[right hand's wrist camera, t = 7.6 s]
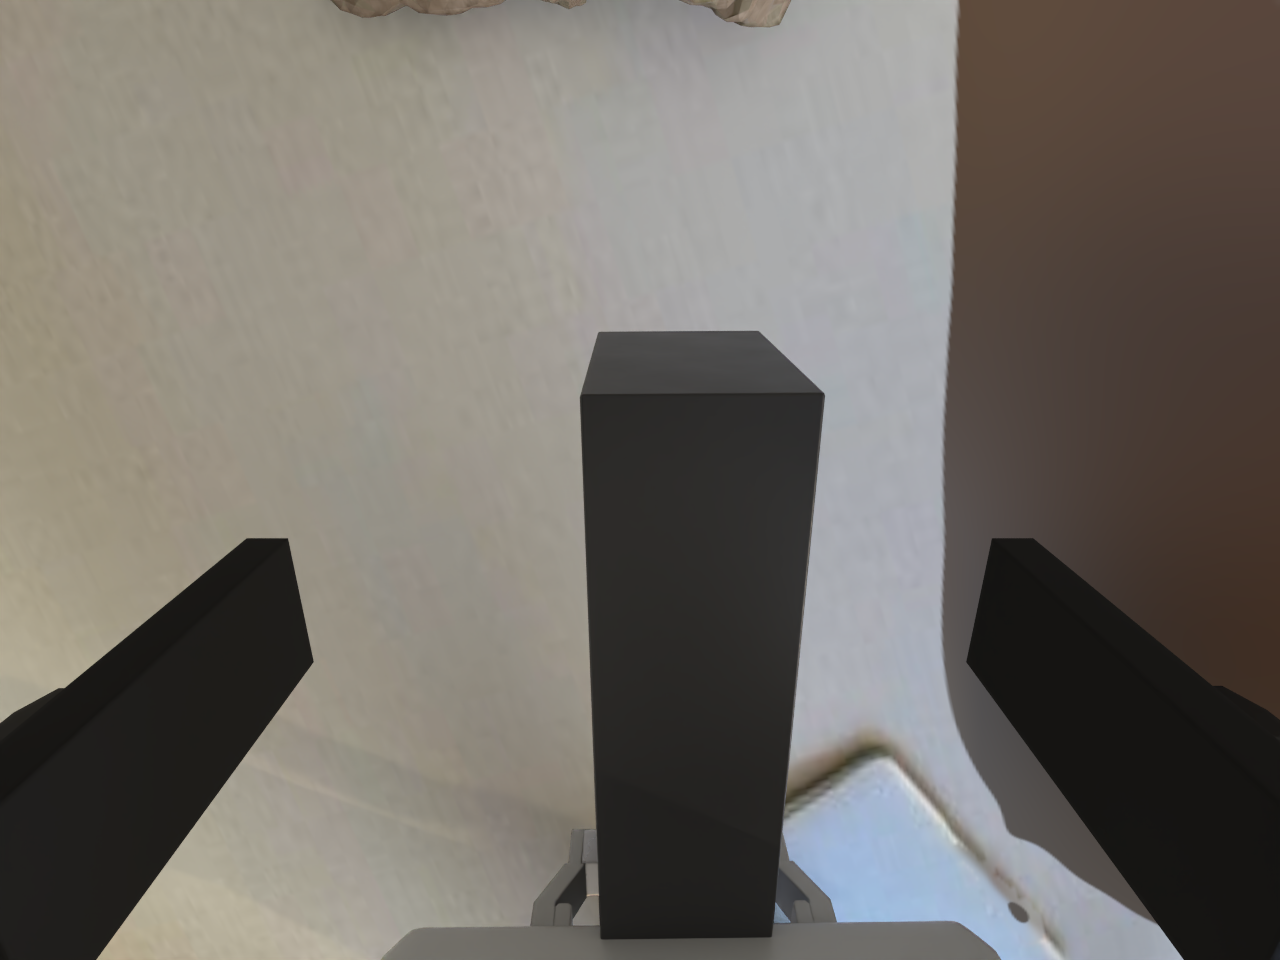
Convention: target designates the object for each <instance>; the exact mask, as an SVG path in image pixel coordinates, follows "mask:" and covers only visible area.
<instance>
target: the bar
mask: <svg viewBox="0 0 1280 960" xmlns="http://www.w3.org/2000/svg"><path fill="white" fill-rule="evenodd" d="M824 400H825V395H824V393H823V392H822V391H821V390H820V389H819V388H818V387H817V386H816V385H815V384H814V383H813V382H812V381H811V380H810V379H808V378H807V377H806V376H805V375H804V374H803V373H802V372H801V371H800V370H799V369H798V368H797V367H796V366H795V365H794V364H793V363H792V362H791V361H790V360H789V359H787V358H786V357H785V356H784V355H783V354H782V353H781V352H780V351H779V350H778V349H777V348H776V347H775V346H774V345H773V344H772V343H771V342H770V341H769V340H768V339H766V338H765V337H764V336H763V335H762V334H761V333H760V332H759V331H662V332H599V333H598V335H597V339H596V343H595V346H594V350H593V353H592V357H591V360H590V364H589V367H588V371H587V374H586V378H585V381H584V385H583V388H582V392H581V395H580V412H581V438H582V465H583V491H584V518H585V544H586V571H587V597H588V624H589V650H590V677H591V703H592V730H593V756H594V783H595V809H596V836H597V862H598V889H599V915H600V938H601V939H602V940H610V939H690V938H769V937H772V932H773V922H774V912H775V901H776V891H777V881H778V871H779V860H780V850H781V840H782V830H783V820H784V809H785V799H786V789H787V779H788V768H789V758H790V748H791V738H792V727H793V717H794V707H795V697H796V686H797V676H798V666H799V656H800V645H801V635H802V625H803V615H804V605H805V594H806V584H807V574H808V564H809V553H810V543H811V533H812V523H813V512H814V502H815V492H816V482H817V471H818V461H819V451H820V441H821V431H822V420H823V410H824Z"/></svg>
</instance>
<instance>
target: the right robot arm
mask: <svg viewBox="0 0 1280 960" xmlns="http://www.w3.org/2000/svg"><path fill="white" fill-rule="evenodd" d="M313 662H314V661H313V657H312V652H311V647H310V642H309V637H308V633H307V628H306V623H305V618H304V613H303V609H302V604H301V599H300V594H299V589H298V585H297V580H296V575H295V570H294V565H293V561H292V556H291V551H290V546H289V541H288V538H247V539H246V540H244V541H243V542H242V543H241V544H239V545H238V546H237V547H236V548H235V549H233V550H232V551H231V552H230V553H229V554H227V555H226V556H225V557H224V558H222V559H221V560H220V561H219V562H218V563H216V564H215V565H214V566H213V567H211V568H210V569H209V570H208V571H207V572H205V573H204V574H203V575H202V576H201V577H199V578H198V579H197V580H196V581H194V582H193V583H192V584H191V585H190V586H188V587H187V588H186V589H185V590H184V591H182V592H181V593H180V594H179V595H177V596H176V597H175V598H174V599H173V600H171V601H170V602H169V603H168V604H166V605H165V606H164V607H163V608H162V609H160V610H159V611H158V612H157V613H156V614H154V615H153V616H152V617H151V618H149V619H148V620H147V621H146V622H145V623H143V624H142V625H141V626H140V627H139V628H137V629H136V630H135V631H134V632H132V633H131V634H130V635H129V636H128V637H126V638H125V639H124V640H123V641H122V642H120V643H119V644H118V645H117V646H115V647H114V648H113V649H112V650H111V651H109V652H108V653H107V654H106V655H104V656H103V657H102V658H101V659H100V660H98V661H97V662H96V663H95V664H94V665H92V666H91V667H90V668H89V669H87V670H86V671H85V672H84V673H83V674H81V675H80V676H79V677H78V678H77V679H75V680H74V681H73V682H72V683H70V684H69V685H68V686H67V687H66V688H58V689H56V690H55V691H53V692H51V693H49V694H47V695H45V696H44V697H42V698H40V699H38V700H36V701H34V702H32V703H31V704H29V705H27V706H25V707H23V708H21V709H20V710H18V711H16V712H14V713H13V714H11V715H10V716H9V717H8V718H6V719H5V720H4V721H3V722H1V723H0V960H96V959H97V958H98V956H99V955H100V954H101V952H102V951H103V950H104V948H105V947H106V946H107V944H108V943H109V941H110V940H111V939H112V937H113V936H114V935H115V933H116V932H117V930H118V929H119V928H120V926H121V925H122V924H123V922H124V921H125V920H126V918H127V917H128V915H129V914H130V913H131V911H132V910H133V909H134V907H135V906H136V904H137V903H138V902H139V900H140V899H141V898H142V896H143V895H144V894H145V892H146V891H147V889H148V888H149V887H150V885H151V884H152V883H153V881H154V880H155V878H156V877H157V876H158V874H159V873H160V872H161V870H162V869H163V867H164V866H165V865H166V863H167V862H168V861H169V859H170V858H171V857H172V855H173V854H174V852H175V851H176V850H177V848H178V847H179V846H180V844H181V843H182V841H183V840H184V839H185V837H186V836H187V835H188V833H189V832H190V831H191V829H192V828H193V826H194V825H195V824H196V822H197V821H198V820H199V818H200V817H201V815H202V814H203V813H204V811H205V810H206V809H207V807H208V806H209V805H210V803H211V802H212V800H213V799H214V798H215V796H216V795H217V794H218V792H219V791H220V789H221V788H222V787H223V785H224V784H225V783H226V781H227V780H228V779H229V777H230V776H231V774H232V773H233V772H234V770H235V769H236V768H237V766H238V765H239V763H240V762H241V761H242V759H243V758H244V757H245V755H246V754H247V752H248V751H249V750H250V748H251V747H252V746H253V744H254V743H255V742H256V740H257V739H258V737H259V736H260V735H261V733H262V732H263V731H264V729H265V728H266V726H267V725H268V724H269V722H270V721H271V720H272V718H273V717H274V716H275V714H276V713H277V711H278V710H279V709H280V707H281V706H282V705H283V703H284V702H285V700H286V699H287V698H288V696H289V695H290V694H291V692H292V691H293V690H294V688H295V687H296V685H297V684H298V683H299V681H300V680H301V679H302V677H303V676H304V674H305V673H306V672H307V670H308V669H309V668H310V666H311V665H312V664H313ZM967 664H968V665H969V666H970V668H971V669H972V670H973V672H974V673H975V674H976V676H977V677H978V679H979V680H980V681H981V683H982V684H983V685H984V687H985V688H986V690H987V691H988V692H989V693H990V695H991V696H992V698H993V699H994V700H995V702H996V703H997V704H998V706H999V707H1000V709H1001V710H1002V711H1003V713H1004V714H1005V715H1006V717H1007V718H1008V720H1009V721H1010V722H1011V724H1012V725H1013V726H1014V728H1015V729H1016V731H1017V732H1018V733H1019V735H1020V736H1021V737H1022V739H1023V740H1024V742H1025V743H1026V744H1027V746H1028V747H1029V748H1030V750H1031V751H1032V752H1033V754H1034V755H1035V757H1036V758H1037V759H1038V761H1039V762H1040V763H1041V765H1042V766H1043V768H1044V769H1045V770H1046V772H1047V773H1048V774H1049V776H1050V777H1051V779H1052V780H1053V781H1054V783H1055V784H1056V785H1057V787H1058V788H1059V789H1060V791H1061V792H1062V794H1063V795H1064V796H1065V798H1066V799H1067V800H1068V802H1069V803H1070V805H1071V806H1072V807H1073V809H1074V810H1075V811H1076V813H1077V814H1078V815H1079V817H1080V818H1081V820H1082V821H1083V822H1084V824H1085V825H1086V826H1087V828H1088V829H1089V831H1090V832H1091V833H1092V835H1093V836H1094V837H1095V839H1096V840H1097V841H1098V843H1099V844H1100V846H1101V847H1102V848H1103V850H1104V851H1105V852H1106V854H1107V855H1108V857H1109V858H1110V859H1111V861H1112V862H1113V863H1114V865H1115V866H1116V867H1117V869H1118V870H1119V872H1120V873H1121V874H1122V876H1123V877H1124V878H1125V880H1126V881H1127V883H1128V884H1129V885H1130V887H1131V888H1132V889H1133V891H1134V892H1135V893H1136V895H1137V896H1138V898H1139V899H1140V900H1141V902H1142V903H1143V904H1144V906H1145V907H1146V909H1147V910H1148V911H1149V913H1150V914H1151V915H1152V917H1153V918H1154V920H1155V921H1156V922H1157V924H1158V925H1159V926H1160V928H1161V929H1162V930H1163V932H1164V933H1165V935H1166V936H1167V937H1168V939H1169V940H1170V941H1171V943H1172V944H1173V946H1174V947H1175V948H1176V950H1177V951H1178V952H1179V954H1180V955H1181V956H1182V958H1183V959H1184V960H1280V720H1279V719H1278V718H1276V717H1275V716H1274V715H1273V714H1271V713H1270V712H1269V711H1268V710H1266V709H1264V708H1262V707H1260V706H1259V705H1257V704H1255V703H1253V702H1251V701H1249V700H1247V699H1245V698H1244V697H1242V696H1240V695H1238V694H1236V693H1234V692H1233V691H1231V690H1229V689H1227V688H1225V687H1223V686H1212V685H1211V684H1210V683H1208V682H1207V681H1206V680H1205V679H1203V678H1202V677H1201V676H1200V675H1199V674H1197V673H1196V672H1195V671H1194V670H1193V669H1191V668H1190V667H1189V666H1188V665H1186V664H1185V663H1184V662H1183V661H1182V660H1180V659H1179V658H1178V657H1177V656H1175V655H1174V654H1173V653H1172V652H1171V651H1169V650H1168V649H1167V648H1166V647H1165V646H1163V645H1162V644H1161V643H1160V642H1158V641H1157V640H1156V639H1155V638H1154V637H1152V636H1151V635H1150V634H1149V633H1147V632H1146V631H1145V630H1144V629H1143V628H1141V627H1140V626H1139V625H1138V624H1137V623H1135V622H1134V621H1133V620H1132V619H1130V618H1129V617H1128V616H1127V615H1126V614H1124V613H1123V612H1122V611H1121V610H1120V609H1118V608H1117V607H1116V606H1115V605H1113V604H1112V603H1111V602H1110V601H1109V600H1107V599H1106V598H1105V597H1104V596H1103V595H1101V594H1100V593H1099V592H1098V591H1096V590H1095V589H1094V588H1093V587H1091V586H1090V585H1089V584H1088V583H1087V582H1086V581H1084V580H1083V579H1082V578H1081V577H1079V576H1078V575H1077V574H1076V573H1075V572H1073V571H1072V570H1071V569H1070V568H1069V567H1067V566H1066V565H1065V564H1064V563H1062V562H1061V561H1060V560H1059V559H1058V558H1056V557H1055V556H1054V555H1053V554H1051V553H1050V552H1049V551H1048V550H1047V549H1045V548H1044V547H1043V546H1042V545H1040V544H1039V543H1038V542H1037V541H1036V540H1034V539H1033V538H993V539H992V541H991V546H990V551H989V556H988V561H987V565H986V570H985V575H984V580H983V585H982V589H981V594H980V599H979V604H978V609H977V614H976V618H975V623H974V628H973V633H972V637H971V642H970V647H969V652H968V657H967Z"/></svg>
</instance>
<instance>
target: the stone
mask: <svg viewBox="0 0 1280 960" xmlns="http://www.w3.org/2000/svg"><path fill="white" fill-rule="evenodd" d="M331 1H332V2H333V3H334V4H335V5H336V6H337V7H338V8H339V9H340V10H343V11H346V12H349V13H352V14H355V15H357V16H360V17H367V18H370V17H376V16H381V15H382V16H386V15H388V14H390V13H392V12H394V11H396V10H398V9H400V8H402V7H404V6H406V5H407V6H409V7H411V8H412V9H414V10H415V11H417V12H418V13H426V14H436V15H446V16H447V15H453V14H460V13H464V12H465V11H467V10H469V9H471V8H479V7H489V6H493V5H498V4H501V3H502V2H504V1H505V0H331ZM542 1H546V2H550V3H556V4H559V5H561V6H563V7H565V8H568V9H570V8H572V7H574V6H581V5H583V4H584V3H586V1H587V0H542ZM680 1H683V2H685V3H687V4H690V5H700V6H705V7H708V8H711V9H712V10H713V12H714V13H715V14H716V15H717V16H718V17H720V18H722V19H723V20H725V21H726V22H735V23H737V24H739V25H741V26H747V27H772V26H776V25H780V22H781V20H782V18H783V16H784V14H785V12H786V10H787V8H788V6H789V4H790V2H791V0H680Z"/></svg>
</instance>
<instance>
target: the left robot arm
mask: <svg viewBox="0 0 1280 960" xmlns="http://www.w3.org/2000/svg"><path fill="white" fill-rule="evenodd" d="M593 895H599V889H598V862H597V836H596V830H595V829H585V830H584V829H572V833H571V843H570V853H569V863H568V864H565V865H564V866H563V867H562V868H561V869H560V871H559V872H558V873H557V874H556V876H555V877H554V878H553V879H552V881H551V882H550V883H549V884H548V886H547V887H546V888H545V889H544V891H543V892H542V893H541V894H540V896H539V897H538V898H537V899H536V901H535V902H534V905H533V912H532V918H531V925H530V926H524V927H444V928H418V929H414V930H412V931H410V932H409V933H408V934H407V935H405V936H404V937H403V938H402V939H401V940H400V941H399V942H398V943H397V944H396V945H395V946H394V947H392V948H391V949H390V950H389V951H388V952H387V953H386V954H385V955H384V956H383V957H382V959H381V960H1001V959H1000V957H999V956H998V954H997V953H996V951H995V950H994V949H993V948H992V947H991V946H989V945H988V944H987V943H986V942H984V941H983V940H982V939H981V938H979V937H978V936H977V935H975V934H974V933H973V932H972V931H970V930H969V929H968V928H966V927H965V926H963V925H962V924H960V923H958V922H955V921H918V922H842V923H837V921H836V917H835V914H834V910H833V907H832V903H831V900H830V898H829V897H828V896H827V895H826V894H825V893H824V892H823V891H822V890H821V889H820V888H819V887H818V886H817V885H816V884H815V883H814V882H813V881H812V880H811V879H810V878H809V877H808V876H807V875H806V874H805V873H804V872H803V871H802V870H801V869H800V868H799V867H798V866H797V865H796V864H795V863H794V862H793V861H789V857H788V852H787V848H786V844H785V840H784V836H783V832H782V840H781V850H780V860H779V871H778V881H777V891H776V901H775V902H776V903H777V904H778V906H779V907H780V908H781V910H782V911H783V912H784V913H785V915H786V916H787V917H788V919H789V920H790V921H791V923H773V932H772V937H769V938H690V939H610V940H602V939H601V938H600V926H573V920H572V919H573V918H574V916H575V915H576V913H577V912H578V910H579V908H580V907H581V905H582V904H583V902H584V901H585V899H586V897H587V896H593Z"/></svg>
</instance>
